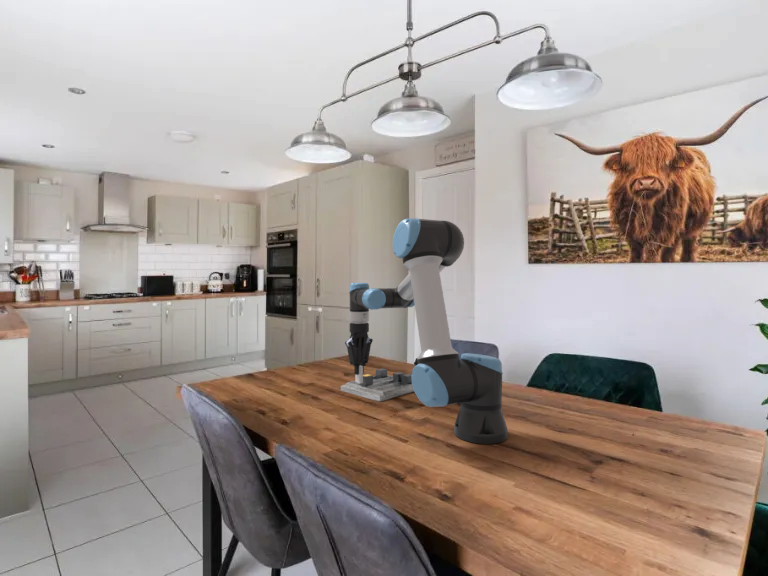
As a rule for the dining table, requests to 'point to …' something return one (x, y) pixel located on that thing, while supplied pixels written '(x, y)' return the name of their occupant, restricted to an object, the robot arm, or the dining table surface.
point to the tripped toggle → (367, 380)
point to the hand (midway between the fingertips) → (359, 382)
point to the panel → (382, 386)
